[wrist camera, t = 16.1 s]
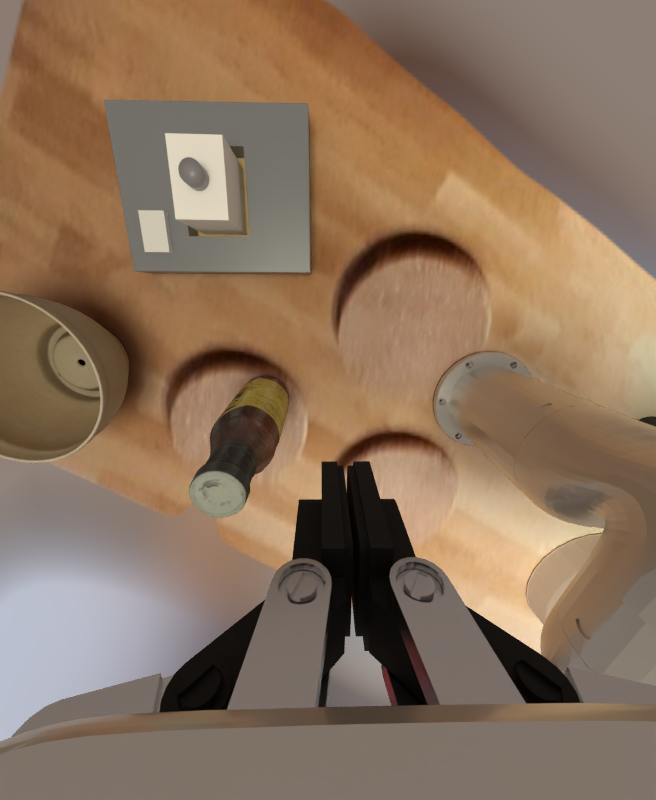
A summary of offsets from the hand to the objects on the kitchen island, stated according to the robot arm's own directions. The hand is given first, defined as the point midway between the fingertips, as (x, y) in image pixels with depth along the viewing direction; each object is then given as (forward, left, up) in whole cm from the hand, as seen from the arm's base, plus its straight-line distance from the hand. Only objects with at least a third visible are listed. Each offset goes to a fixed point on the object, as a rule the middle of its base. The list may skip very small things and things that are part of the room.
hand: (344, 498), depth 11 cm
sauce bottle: (+8, +6, -29) cm, 31 cm away
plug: (+11, -16, -28) cm, 34 cm away
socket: (+11, -16, -29) cm, 35 cm away
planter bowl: (+29, +1, -29) cm, 41 cm away
